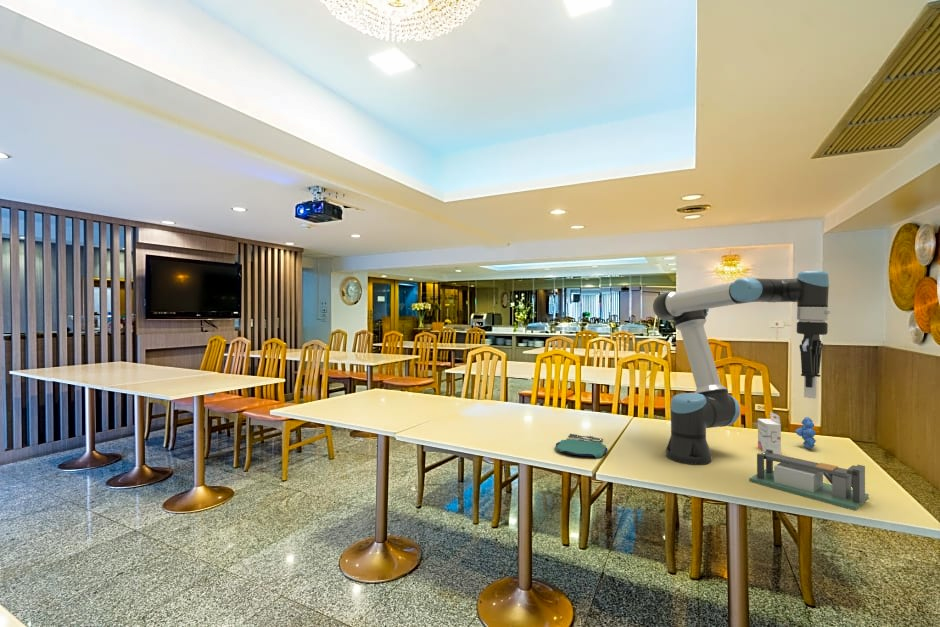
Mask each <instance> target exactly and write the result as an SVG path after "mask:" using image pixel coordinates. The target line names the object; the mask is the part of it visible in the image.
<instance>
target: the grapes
mask: <svg viewBox="0 0 940 627" xmlns="http://www.w3.org/2000/svg"><path fill="white" fill-rule="evenodd" d="M801 424H802V426H801V427H798V428H796V430H795V434H796V435H797V436H799V437H801V438H802V440H803V442H802V444H803V446H804V447H806V448H807V449H808V450H812V449H813V448H815V446H816V445H815V443H816V442H817V440H816V439H815V437H816V434H817V432H816V431H815V429H814V427H815V426H816V425H815V423H814V420H812V419H811V417H809V416H808V417H807V416H806V417H804V418H803V419H802V421H801Z"/></svg>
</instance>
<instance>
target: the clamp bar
mask: <svg viewBox="0 0 940 627" xmlns="http://www.w3.org/2000/svg"><path fill="white" fill-rule="evenodd" d="M760 454H763V455H764V460H766V459H767V460H772V461H773V462H776V463H785V464H789V465H794V466H798V467H802V468H807V469H811V470H816V471H820V472H824V473H829V474H833V475H837V476H842V477H847V476H849V475H850V474H847V468H842V467H838V466H839V465H834V464H829V463H824V462H816V461H810V460H807V459H801V458H796V457H791V456H789V455H788V456H787V455H783V454H781V455H779V454H774V453H770V452H769V451H765V452H764V451H762V452H761V453H760Z"/></svg>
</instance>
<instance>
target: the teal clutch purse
mask: <svg viewBox="0 0 940 627" xmlns="http://www.w3.org/2000/svg"><path fill="white" fill-rule="evenodd" d="M567 436H568V438H566V439H561V440H560V441H558V442H557V443H555V448H556V450H557V452H561V454H562V452H563V453H566V454H569V455H573V456H579V457H580V456H582V457H595V458H596V459H600V458H601V457H603V455H605V454H606V453H608V447H607V446H606V445H604V444H602V443H603V442H604V440H603V439H604V438H600V437H595V436H593V435H590V436H586V435H585V436H584V435H579V434H574V433H569V435H567ZM576 436H578V437H576ZM583 437H587V438H583ZM591 438H592V439H591ZM600 439H601V440H600ZM599 440H600V441H599Z"/></svg>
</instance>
